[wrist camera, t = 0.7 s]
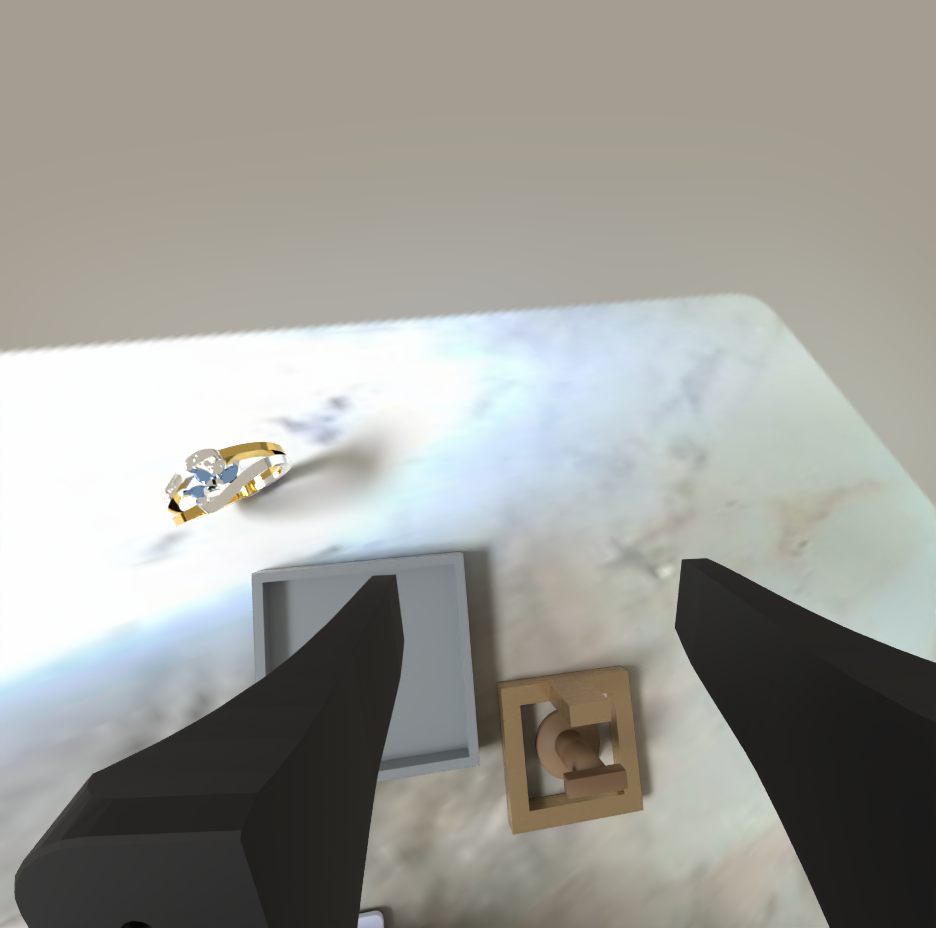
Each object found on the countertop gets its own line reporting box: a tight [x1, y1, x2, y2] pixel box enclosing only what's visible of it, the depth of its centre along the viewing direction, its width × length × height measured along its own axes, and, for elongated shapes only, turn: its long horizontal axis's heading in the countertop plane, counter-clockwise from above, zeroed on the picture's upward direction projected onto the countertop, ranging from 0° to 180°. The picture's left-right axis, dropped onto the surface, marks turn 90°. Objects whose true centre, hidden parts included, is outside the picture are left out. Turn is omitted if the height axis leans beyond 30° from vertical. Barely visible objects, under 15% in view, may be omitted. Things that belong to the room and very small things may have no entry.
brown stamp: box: [536, 710, 628, 799], centre depth 30 cm, size 4×4×5 cm
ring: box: [162, 442, 291, 526], centre depth 27 cm, size 7×3×8 cm, turn 118°
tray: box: [252, 552, 480, 782], centre depth 30 cm, size 13×13×2 cm
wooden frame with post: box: [497, 666, 643, 835], centre depth 30 cm, size 9×9×5 cm
